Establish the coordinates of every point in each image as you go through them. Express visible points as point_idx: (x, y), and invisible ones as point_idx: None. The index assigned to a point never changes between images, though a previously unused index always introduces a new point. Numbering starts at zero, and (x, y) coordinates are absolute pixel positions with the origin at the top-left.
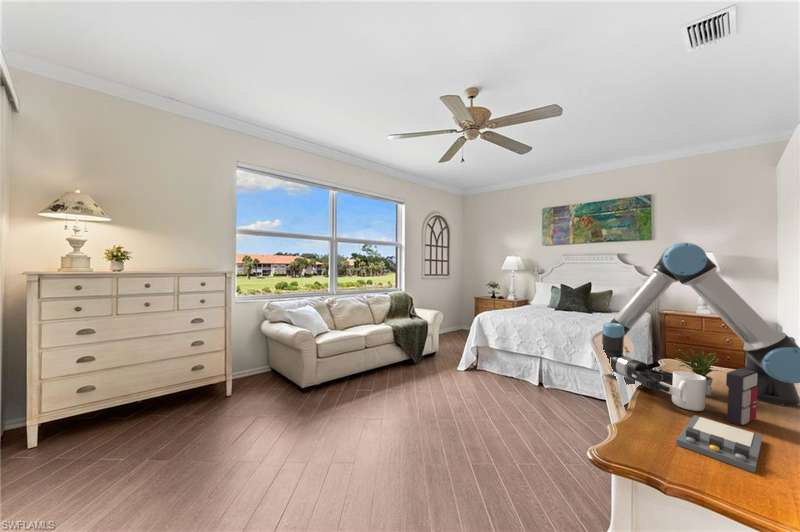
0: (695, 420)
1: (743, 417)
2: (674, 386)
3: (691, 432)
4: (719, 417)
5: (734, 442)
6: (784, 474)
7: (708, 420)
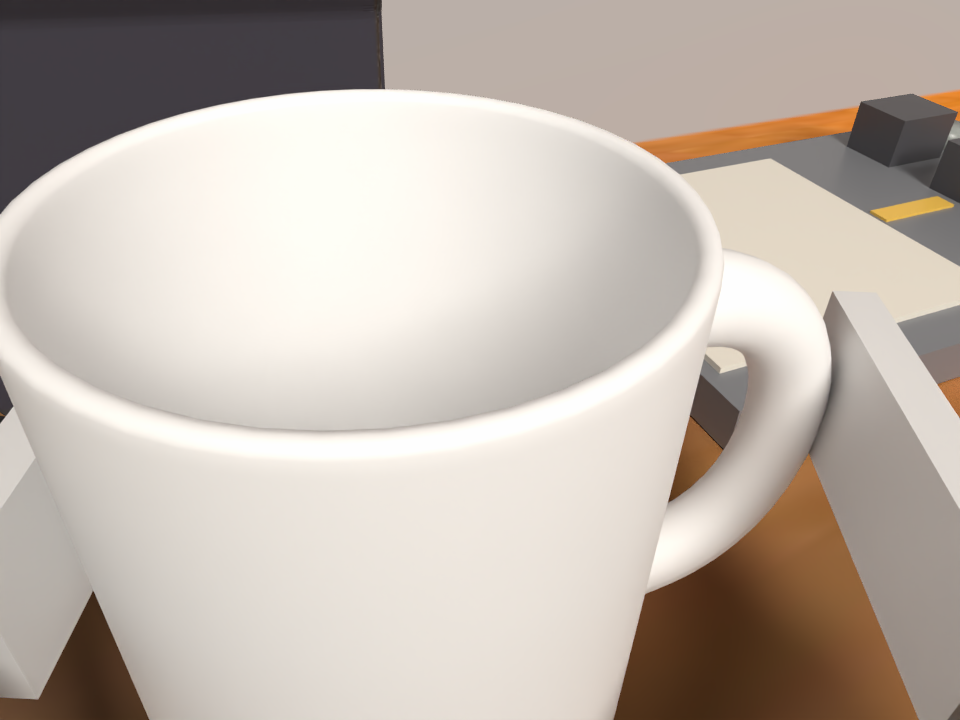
0: None
1: None
2: (880, 378)
3: None
4: None
5: (816, 188)
6: (769, 132)
7: None
